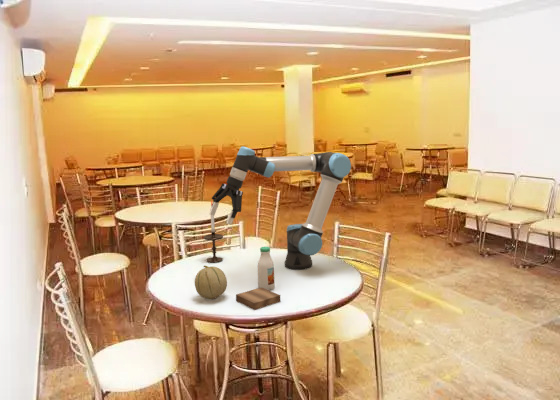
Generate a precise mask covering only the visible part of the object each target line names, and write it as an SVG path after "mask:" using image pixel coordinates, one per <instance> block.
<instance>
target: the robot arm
mask: <svg viewBox="0 0 560 400" xmlns="http://www.w3.org/2000/svg"><path fill="white" fill-rule="evenodd" d="M255 154H256V151H255V150H254V149H251V148H249V147H246V146H240V148H239V150H238V152H237V154H236V157H235V160H234V161H233V165H232V167H231V170H230V173H229V176H228V177H227V180H226V183H221V185H220V187H219V188H218V189H217V191H216V192H215V193H214V194H213V195H212V196H211V200H212V208H211V207H210V209H211V211H209V214H208V215H210V216H211V215H213V216H214V217H215V214H216V213H217V210H218V207H219V204H220V201H222V200H223V199H224V198H226V197H229V198H230V199H231V205H232V209H231V210H230V213H229V215H228V217H227V220H226V224H227V225H231V226H232V224H233V221H234V219H236V216H237V213H241V212H242V206H243V205H242V204H243V203H242V202H243V201H242V200H243V195H244V192H243V191H241V190H240V189H242V187H243V185H244V184H243V183H244V181H245V179H246V176H247V174H248V171H250V172H251V173H254V174H258V175H260V176H263V177H264V178H271V177H272V176H273V174H274V172H294V171H296V172H297V171H310V172H311V173H320V177H321V181H320V184H319V187H318V189H317V191H316V194H315V197H314V199H313V202H312V205H311V207H310V210H309V213H308V216H307V219H306V222H304V223H295V224H288V225H287V227H286V243H287V244H286V245H287V246H286V247H287V248H286V249H287V253H286V255H285V260H284V268H286V269H287V270H293V271H302V270H303V271H304V270H308V269H310V268H312V267H313V259H312V257H311V256H314V255H316V254H318V253H319V252H320V251H321V249H322V247H323V240H322V237H323V234H324V231H323V229H322V228H323V226H324V222H325V219H326V217H327V214H328V212H329V209H330V208H331V204H332V201H333V200H334V199H333V198H334V196H335V194H336V190H337V188H338V185H340V184H342V183H343V181H344V177H346V176H349V174H350V172H351V169H352V163H351V160H350V158H349V157H348V156H347V155H345V154H343V153H340V152H333V151H326V152H318V153H311V154H309V155H295V156H294V155H293V156H291V155H289V156H267V157H266V156H264V157H263V156H260V157H259V156H257V155H255Z"/></svg>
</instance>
